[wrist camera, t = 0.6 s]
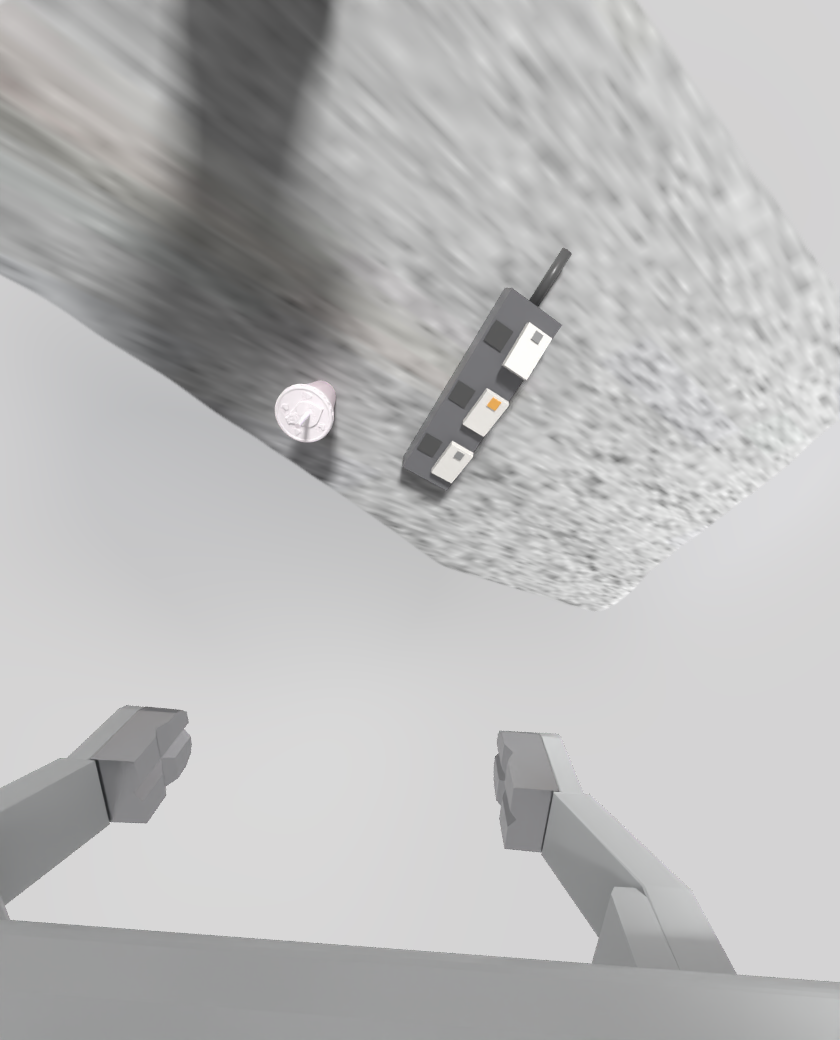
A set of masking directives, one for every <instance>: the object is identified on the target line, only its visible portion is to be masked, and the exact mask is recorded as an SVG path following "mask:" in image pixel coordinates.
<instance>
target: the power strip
mask: <svg viewBox="0 0 840 1040" xmlns="http://www.w3.org/2000/svg"><path fill="white" fill-rule="evenodd" d="M571 255H572V254H571V253H570V252H569V251H568V250H567V249H565V248H562V250H561V251H560V253H559V255H558V256H557V258H556V259H555V261H554V262H553V264H552V265H551V267H550V269H549V270H548V272H547V273H546V275H545V276H544V278H543V280H542V281H541V283H540V284H539V286H538V287H537V289H536V291H535V292H534V294H533V295H532V297H531V298H530V300H528V299H526V298H525V297H524V296H522V295H521V294H519V293H518V292H517V291H515V290H514V289H513V288H505V289H504V290H503V292H502V294H501V295H500V297H499V299H498V300H497V302H496V304H495V305H494V307H493V309H492V310H491V312H490V314H489V315H488V317H487V319H486V320H485V322H484V324H483V325H482V327H481V329H480V330H479V332H478V334H477V335H476V337H475V339H474V340H473V342H472V344H471V345H470V347H469V349H468V350H467V352H466V354H465V355H464V357H463V359H462V360H461V362H460V364H459V365H458V367H457V369H456V370H455V372H454V373H453V375H452V377H451V378H450V380H449V382H448V383H447V385H446V387H445V388H444V390H443V392H442V393H441V395H440V397H439V398H438V400H437V402H436V403H435V405H434V407H433V408H432V410H431V412H430V413H429V415H428V417H427V418H426V420H425V422H424V423H423V425H422V427H421V428H420V430H419V432H418V433H417V435H416V437H415V438H414V440H413V442H412V443H411V445H410V447H409V448H408V450H407V452H406V453H405V455H404V460H403V468H405V469H407V470H409V471H411V472H413V473H415V474H416V475H418V476H420V477H422V478H424V479H426V480H428V481H429V482H431V483H433V484H435V485H437V486H439V487H441V488H442V489H444V490H446V491H447V490H448V488H449V487H450V485H451V484H452V483H450V482H448V481H446V480H444V479H442V478H441V477H439V476H437V475H435V474H433V473H431V471H432V467H433V466H434V465H435V463H436V462H437V461H438V459H439V458H440V456H441V455H442V454H443V452H444V451H445V450H446V448H447V447H448V446H449V444H450V443H451V442H452V441H454V442H455V443H457V444H459V445H461V446H462V447H464V448H466V449H468V450H469V451H471V452H474V451H475V449H476V448H477V446H478V445H479V444H480V442H481V441H482V439H483V438H484V437H483V436H481V435H480V434H478V433H476V432H475V431H473V430H471V429H470V428H468V427H466V426H465V425H463V420H464V418H465V417H466V416H467V414H468V413H469V412H470V410H471V409H472V407H473V406H474V405H475V403H476V402H477V401H478V399H479V398H480V396H481V395H482V394H483V392H484V391H485V390H486V388H488V389H490V390H491V391H493V392H494V393H496V394H497V395H499V396H500V397H502V398H504V399H505V400H507V401H508V402H509V400H510V399H511V398H512V396H513V395H514V393H515V392H516V390H517V389H518V388H519V386H520V385H521V383H522V382H523V379H521V378H520V377H518V376H517V375H515V374H514V373H512V372H511V371H510V370H508V369H507V368H505V367H504V366H502V364H503V362H504V360H505V359H506V357H507V355H508V354H509V352H510V350H511V348H512V347H513V345H514V343H515V342H516V340H517V338H518V337H519V335H520V333H521V331H522V330H523V328H524V326H525V325H526V323H529V322H530V323H531V324H533V325H534V326H536V327H537V328H538V329H540V330H541V331H543V332H544V333H545V334H547V335H548V336H549V337H551V338H552V339H553V337H554V336H555V334H556V333H557V331H558V330H559V329H560V327H561V326H562V325H561V324H560V323H559V322H557V321H556V320H555V319H553V318H552V317H550V316H549V315H548V314H546V313H545V312H544V311H542V310H541V309H540V308H538V305H539V304H540V302H541V301H542V299H543V298H544V296H545V295H546V293H547V292H548V290H549V288H550V287H551V285H552V284H553V282H554V281H555V279H556V278H557V276H558V275H559V273H560V272H561V270H562V269H563V267H564V265H565V264H566V262H567V261H568V259H569V258H570V256H571ZM550 342H551V341H550Z"/></svg>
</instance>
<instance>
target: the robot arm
mask: <svg viewBox="0 0 840 1040" xmlns="http://www.w3.org/2000/svg"><path fill="white" fill-rule="evenodd" d="M187 724H188V717H187V712H185V711H183V710H176V709H175V710H174V709H165V708H154V707H139V706H128V705H126V706H124V707H122V708H119V709H118V710H117V711H116V712H115V713H114V714H113V715H112V716H111V717H110V718H109V719H108V720H107V721H106V722H104V723H103V724H102V725H101V726H100V727H99V728H98V729H97V730H96V731H95V732H94V733H93V734H92V735H91V736H90V737H89V738H88V739H87V740H85V742H83V743H82V744H81V745H80V746H79V747H78V748H77V749H76V750H75V751H74V752H73V753H72V754H71V755H70V756H69V757H68V758H60V759H57V760H55V761H53V762H51V763H50V764H48V765H45V766H44V767H41V768H40V769H38V770H35V771H33V772H31V773H29V774H28V775H25V776H24V777H22V778H20V779H18V780H16V781H14V782H12V783H10V784H8V785H6V786H4V787H2V788H0V1040H840V982H829V981H815V980H802V979H789V978H775V977H762V976H746V975H737V974H736V972H735V970H734V968H733V966H732V964H731V963H730V961H729V959H728V957H727V955H726V953H725V951H724V949H723V948H722V946H721V944H720V942H719V940H718V938H717V936H716V935H715V933H714V931H713V929H712V927H711V925H710V924H709V922H708V920H707V918H706V916H705V914H704V912H703V911H702V909H701V907H700V905H699V903H698V901H697V899H696V898H695V896H694V894H693V892H692V890H691V889H690V888H689V887H688V886H687V885H685V884H684V883H683V882H682V881H681V880H680V879H679V878H678V877H677V876H676V875H675V874H674V873H673V872H672V871H671V870H670V869H668V868H667V867H666V866H665V865H664V864H663V863H662V862H661V861H660V860H659V859H658V858H657V857H656V856H655V855H654V854H653V853H651V851H649V850H648V849H647V848H646V847H645V846H644V845H643V844H642V843H641V842H640V841H639V840H638V839H637V838H636V837H635V836H634V835H633V834H631V833H630V832H629V831H628V830H627V829H626V828H625V827H624V826H623V825H622V824H621V823H620V822H619V821H618V820H617V819H616V818H615V817H613V816H612V815H611V814H610V813H609V812H608V811H607V810H606V809H605V808H604V807H603V806H602V805H601V804H600V803H599V802H598V801H597V800H596V799H595V798H593V797H592V796H591V795H590V794H584V793H583V790H582V788H581V785H580V783H579V780H578V778H577V775H576V773H575V771H574V768H573V765H572V763H571V760H570V758H569V755H568V753H567V751H566V748H565V745H564V743H563V740H562V738H561V736H560V735H559V734H551V733H531V732H512V731H499V734H498V739H497V746H498V752H499V753H498V754H497V755H496V756H495V762H494V786H495V794H496V800H497V801H498V803H499V804H500V805H501V811H500V818H499V819H500V825H501V831H502V837H503V842H504V848H505V849H513V850H522V851H532V852H542V854H541V855H542V856H543V857H544V859H545V860H546V862H547V863H548V865H549V866H550V867H551V869H552V871H553V872H554V874H555V875H556V876H557V878H558V879H559V881H560V882H561V884H562V885H563V887H564V888H565V889H566V891H567V892H568V894H569V895H570V896H571V898H572V900H573V901H574V902H575V904H576V905H577V907H578V908H579V910H580V911H581V913H582V914H583V915H584V917H585V918H586V920H587V921H588V923H589V924H590V926H591V927H592V928H593V930H594V931H595V933H596V934H597V936H598V937H599V939H598V943H597V947H596V950H595V954H594V957H593V961H592V964H588V963H576V962H575V963H574V962H562V961H549V960H536V959H523V958H522V959H521V958H508V957H495V956H483V955H469V954H456V953H443V952H442V953H441V952H429V951H415V950H402V949H389V948H376V947H375V948H374V947H362V946H349V945H335V944H322V943H309V942H295V941H282V940H267V939H255V938H241V937H228V936H215V935H200V934H188V933H175V932H161V931H148V930H135V929H121V928H108V927H94V926H82V925H81V926H80V925H68V924H55V923H42V922H28V921H15V920H10V919H9V916H8V913H7V911H6V908H5V905H6V904H7V903H8V902H10V901H11V900H12V899H14V898H15V897H16V896H18V895H19V894H20V893H21V892H23V891H24V890H25V889H26V888H28V887H29V886H30V885H32V884H33V883H34V882H35V881H37V880H38V879H40V878H41V877H42V876H43V875H45V874H46V873H47V872H49V871H50V870H51V869H52V868H54V867H55V866H56V865H58V864H59V863H60V862H62V861H63V860H64V859H65V858H67V857H68V856H69V855H71V854H72V853H73V852H74V851H75V850H77V849H78V848H80V847H81V846H82V845H83V844H85V843H86V842H87V841H89V840H90V839H91V838H93V837H94V836H95V835H96V834H98V833H99V832H100V831H102V830H103V829H104V828H105V827H107V826H108V825H109V824H110V823H109V822H125V823H147V822H148V821H149V819H150V818H151V816H152V815H153V814H154V812H155V811H156V809H157V808H158V806H159V805H160V803H161V802H162V801H163V799H164V798H165V796H166V786H167V785H169V784H170V783H171V782H173V781H174V780H176V779H177V778H178V777H179V776H180V774H181V773H182V771H183V770H184V768H185V767H186V764H187V762H188V759H189V756H190V753H191V745H192V744H191V737H190V735H189V734H188V733H187V732H186V731H185V730H184V728H185V727H186V725H187Z"/></svg>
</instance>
